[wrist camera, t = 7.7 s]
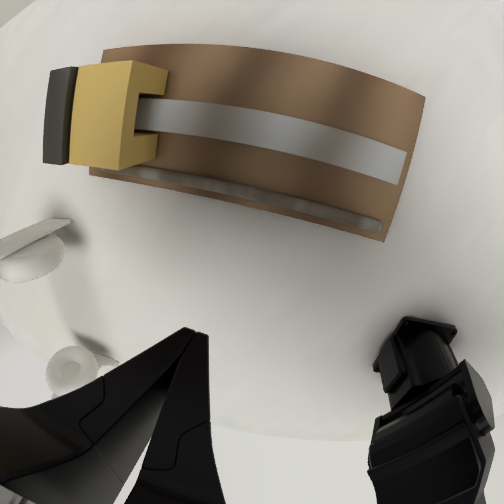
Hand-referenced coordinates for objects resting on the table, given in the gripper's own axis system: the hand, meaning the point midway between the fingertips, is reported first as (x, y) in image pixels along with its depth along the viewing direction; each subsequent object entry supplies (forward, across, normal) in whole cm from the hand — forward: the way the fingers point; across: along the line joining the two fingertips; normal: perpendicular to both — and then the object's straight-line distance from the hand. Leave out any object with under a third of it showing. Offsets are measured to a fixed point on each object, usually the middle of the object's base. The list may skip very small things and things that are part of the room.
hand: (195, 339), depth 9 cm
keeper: (+10, +9, -6) cm, 15 cm away
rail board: (+12, +3, -6) cm, 13 cm away
